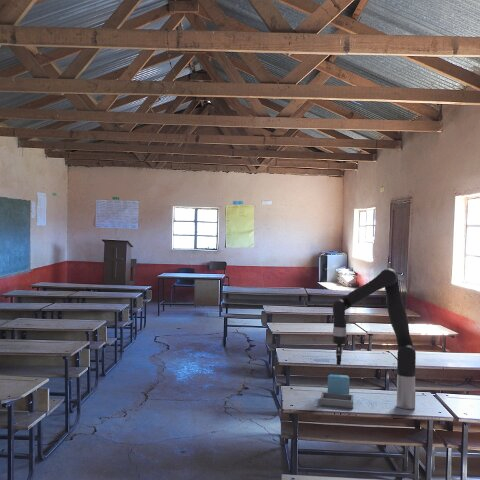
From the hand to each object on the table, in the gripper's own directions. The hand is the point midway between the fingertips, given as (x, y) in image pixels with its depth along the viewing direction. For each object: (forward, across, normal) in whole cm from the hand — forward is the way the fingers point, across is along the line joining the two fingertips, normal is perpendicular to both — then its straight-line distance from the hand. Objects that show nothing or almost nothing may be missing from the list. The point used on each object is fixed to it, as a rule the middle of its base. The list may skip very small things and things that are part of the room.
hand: (338, 363), depth 284 cm
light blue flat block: (+20, 0, 0) cm, 20 cm away
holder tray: (+19, -13, 0) cm, 23 cm away
